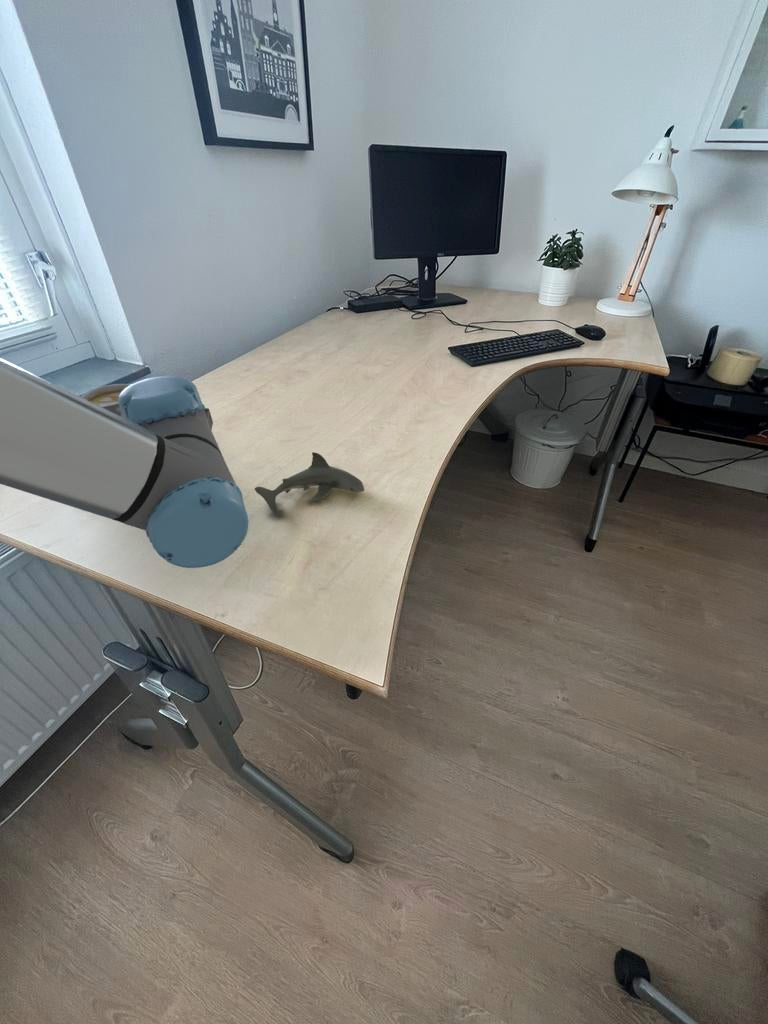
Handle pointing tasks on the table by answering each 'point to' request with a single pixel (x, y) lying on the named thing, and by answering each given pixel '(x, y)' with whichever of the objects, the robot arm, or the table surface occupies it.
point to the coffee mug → (107, 397)
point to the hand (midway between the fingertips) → (133, 416)
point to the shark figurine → (314, 482)
